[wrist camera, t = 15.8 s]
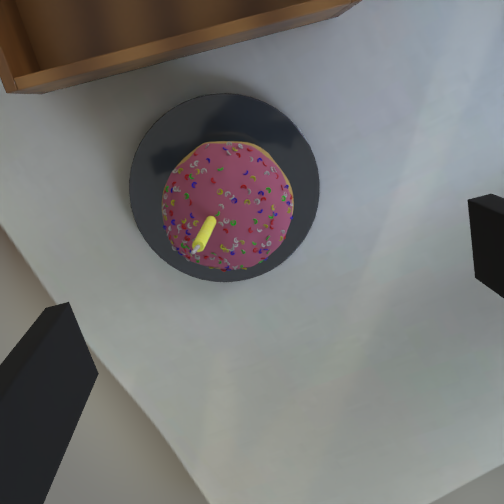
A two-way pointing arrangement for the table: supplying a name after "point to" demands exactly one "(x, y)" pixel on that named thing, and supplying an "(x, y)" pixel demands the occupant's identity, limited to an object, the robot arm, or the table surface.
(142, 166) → the plate
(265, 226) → the cupcake
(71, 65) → the wooden box
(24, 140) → the table surface
